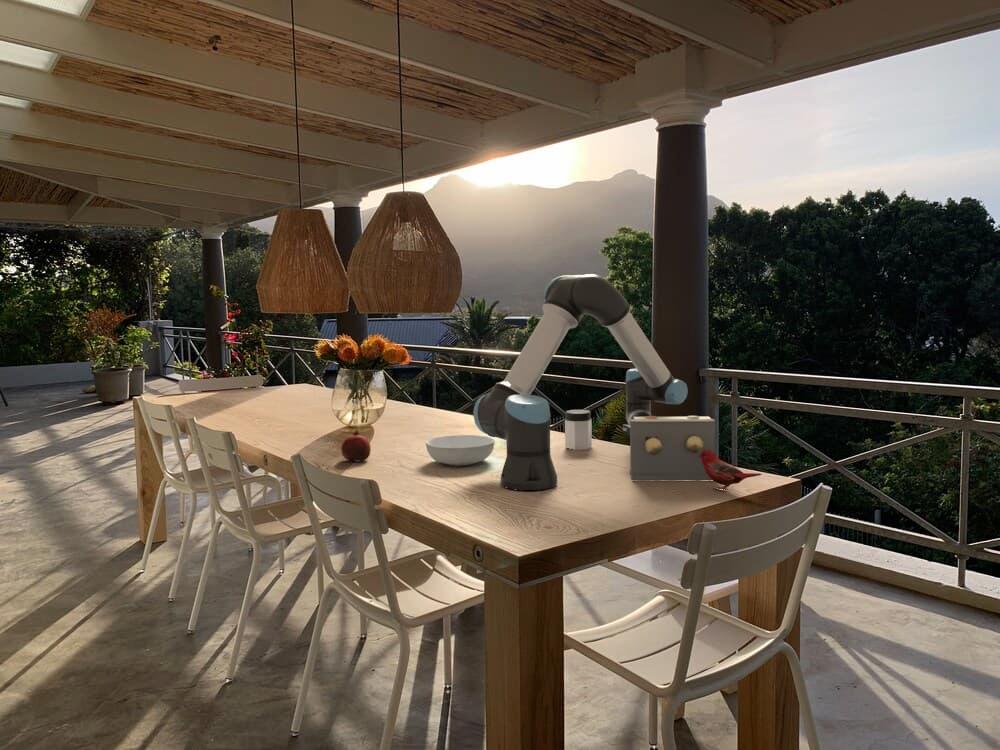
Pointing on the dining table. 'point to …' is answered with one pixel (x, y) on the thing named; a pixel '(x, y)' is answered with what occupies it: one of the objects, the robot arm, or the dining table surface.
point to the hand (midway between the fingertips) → (650, 440)
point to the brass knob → (653, 445)
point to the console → (669, 447)
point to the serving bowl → (460, 449)
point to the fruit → (356, 447)
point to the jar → (578, 430)
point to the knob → (694, 443)
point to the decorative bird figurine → (722, 470)
